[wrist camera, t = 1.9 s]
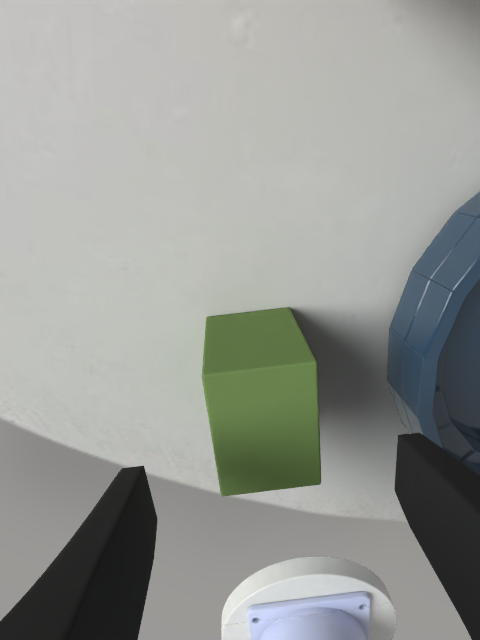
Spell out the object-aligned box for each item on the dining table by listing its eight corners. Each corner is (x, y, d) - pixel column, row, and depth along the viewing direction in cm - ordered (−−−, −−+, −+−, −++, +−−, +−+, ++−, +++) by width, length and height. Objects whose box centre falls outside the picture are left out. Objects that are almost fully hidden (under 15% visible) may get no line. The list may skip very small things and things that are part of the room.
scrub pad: (295, 404, 18) (321, 485, 14) (220, 413, 18) (221, 497, 14) (289, 306, 16) (318, 361, 12) (206, 316, 16) (201, 375, 12)
